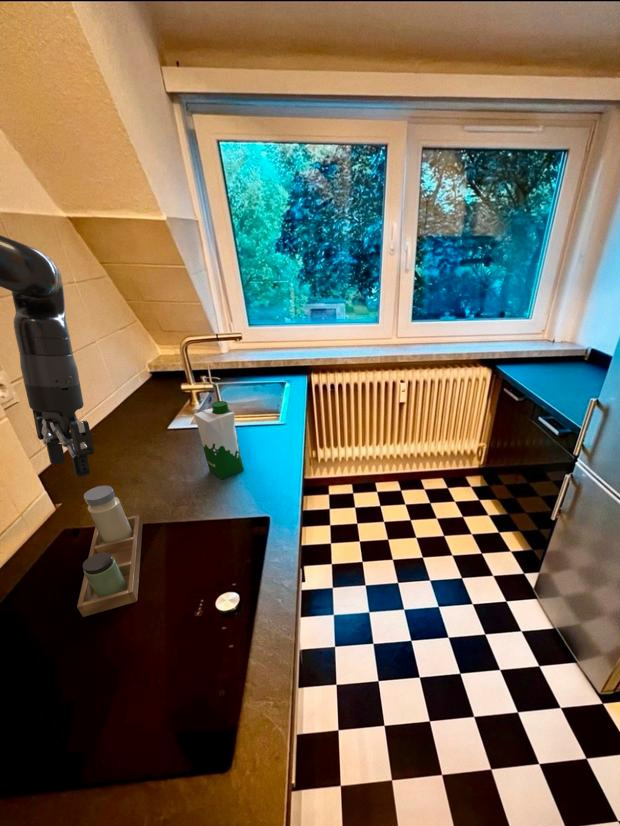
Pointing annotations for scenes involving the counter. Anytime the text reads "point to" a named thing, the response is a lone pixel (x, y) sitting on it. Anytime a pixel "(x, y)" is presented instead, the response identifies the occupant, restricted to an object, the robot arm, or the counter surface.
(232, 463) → the milk carton
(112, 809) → the counter surface
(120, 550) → the jar stand
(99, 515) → the jar
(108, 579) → the spice jar
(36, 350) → the robot arm
